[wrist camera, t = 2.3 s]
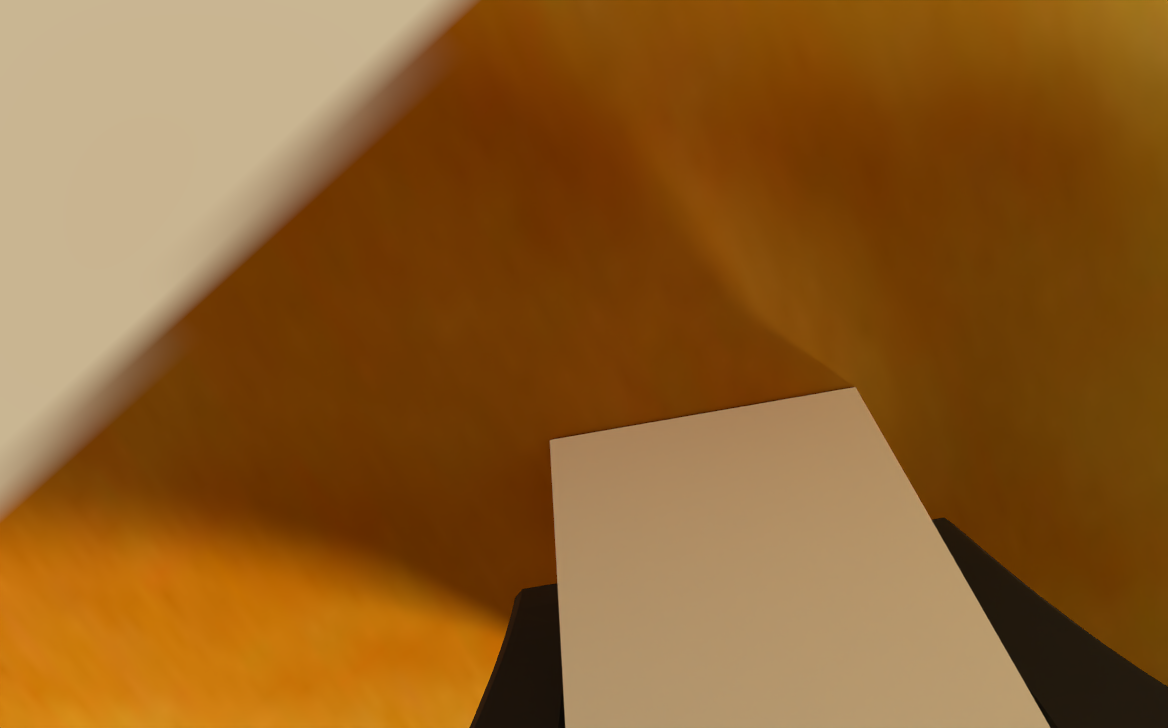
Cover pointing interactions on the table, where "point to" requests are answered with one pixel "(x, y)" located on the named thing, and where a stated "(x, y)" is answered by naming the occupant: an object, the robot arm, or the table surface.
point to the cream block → (765, 580)
